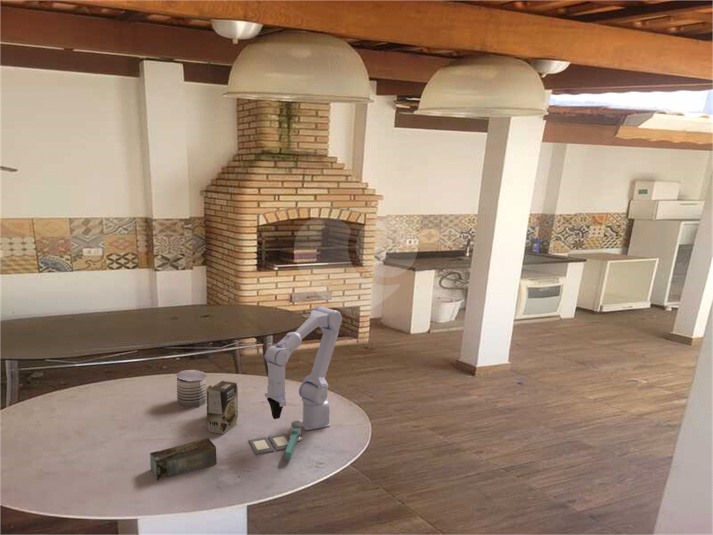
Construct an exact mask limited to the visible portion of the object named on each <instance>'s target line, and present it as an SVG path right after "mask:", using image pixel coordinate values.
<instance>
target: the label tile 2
mask: <svg viewBox="0 0 713 535" xmlns="http://www.w3.org/2000/svg"><path fill="white" fill-rule="evenodd" d="M267 439H268V440H269V439H270V440H269V441H270V442H271V443H270V444H272V446H273V447H274V448H273V449H275V450H276V452H281V451H284V450H285V449H286V448H287V446H288V443H289V440H290V439H289V436H287V434H286V433H280V434H274V435H269V436H267ZM285 451H286V450H285Z"/></svg>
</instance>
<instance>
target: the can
mask: <svg viewBox="0 0 713 535" xmlns="http://www.w3.org/2000/svg"><path fill="white" fill-rule="evenodd" d="M175 376H176V392H177V394H176V395H177V396H176V398H177V401H176V402H177V406H178V405H179V406H178V407H180V408H181V407H183V408H182V409H189V408H191V409H196V408H195V407H197V408H200V406H201V407H202V406H204V405H205V404H206V405H207V394H206V389H207V376H208V375H207V374H206V373H205V372H204V371H202V370H196V369H187V370H181V371H179V372H178V373H176V374H175Z"/></svg>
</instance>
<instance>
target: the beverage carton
mask: <svg viewBox="0 0 713 535" xmlns="http://www.w3.org/2000/svg"><path fill="white" fill-rule="evenodd" d="M149 457H150V461H149V464H150V465H149V466H150V471H151V470H152V471H151V472H152V474H153V476H154V478H155V480H156V481H161V480H164V479H168V478H171V477H175V476H178V475H183V474H186V473H189V472H192V471H196V470H198V469H203V468H205V467H209V466H214V465H217V446H216V445H215V444H214V443H213V441H211V440H210V438H209V437H206V438H203V439H199V440H196V441H192V442H188V443H184V444H181V445H177V446H172V447H169V448H165V449H161V450H156V451H153V452H150V453H149Z"/></svg>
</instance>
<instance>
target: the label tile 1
mask: <svg viewBox="0 0 713 535" xmlns="http://www.w3.org/2000/svg"><path fill="white" fill-rule="evenodd" d="M248 442H249V445H250V446H251V448H252V450H253V452H254V454H255V455H256V456H260V455H264V453H265V454H269V453H274V452H275V450H274V448H273V447H272V446H273V445H271V443H270V442H269V439H268V437H266V436H263V437H258V438H251V439H248ZM259 454H260V455H259Z"/></svg>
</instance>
